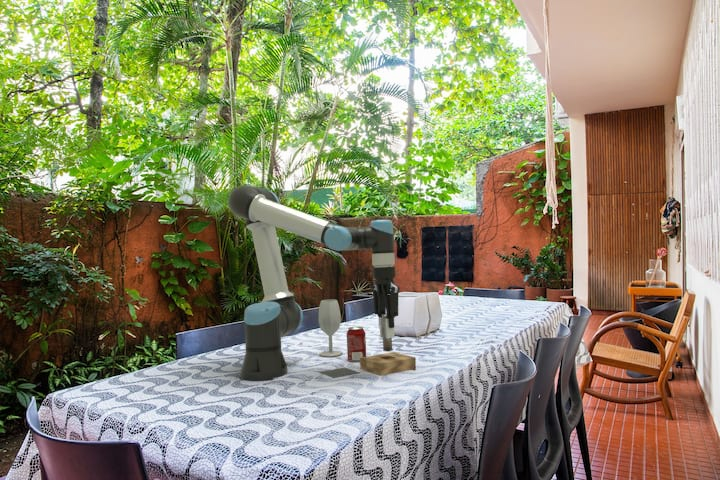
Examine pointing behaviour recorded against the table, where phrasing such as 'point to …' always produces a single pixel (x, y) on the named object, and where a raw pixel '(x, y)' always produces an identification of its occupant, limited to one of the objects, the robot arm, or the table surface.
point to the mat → (339, 372)
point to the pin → (386, 341)
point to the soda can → (356, 344)
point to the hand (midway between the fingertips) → (387, 337)
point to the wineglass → (329, 323)
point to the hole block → (387, 363)
